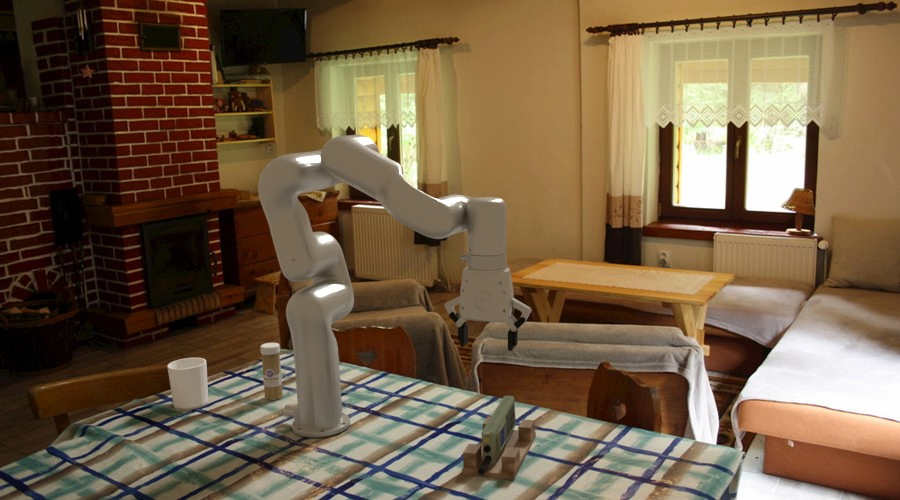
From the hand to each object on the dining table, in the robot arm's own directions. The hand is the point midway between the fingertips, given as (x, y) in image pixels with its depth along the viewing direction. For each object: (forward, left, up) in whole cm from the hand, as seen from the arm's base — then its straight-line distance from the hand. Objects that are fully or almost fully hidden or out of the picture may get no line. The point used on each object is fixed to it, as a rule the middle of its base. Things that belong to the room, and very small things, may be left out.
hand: (487, 347), depth 154 cm
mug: (-78, +9, -22) cm, 82 cm away
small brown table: (+3, -2, -22) cm, 22 cm away
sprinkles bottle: (-59, +17, -22) cm, 66 cm away
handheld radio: (+2, -2, -21) cm, 21 cm away
